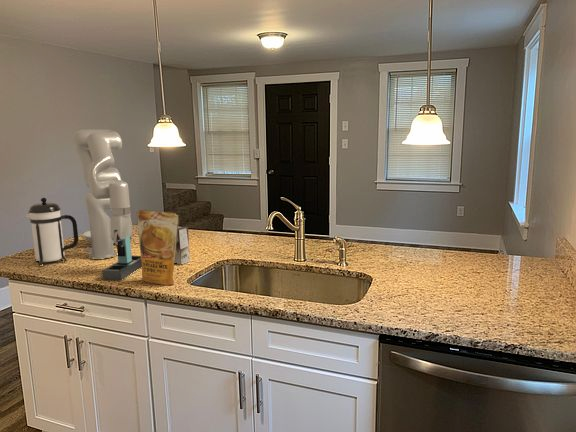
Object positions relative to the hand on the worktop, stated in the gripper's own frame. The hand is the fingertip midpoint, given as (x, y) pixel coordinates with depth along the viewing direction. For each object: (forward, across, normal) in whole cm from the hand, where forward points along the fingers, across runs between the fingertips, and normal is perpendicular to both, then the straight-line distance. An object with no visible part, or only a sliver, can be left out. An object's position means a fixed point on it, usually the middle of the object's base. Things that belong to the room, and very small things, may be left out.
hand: (124, 254), depth 188 cm
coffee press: (+7, -12, -42) cm, 45 cm away
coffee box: (+8, -16, +17) cm, 25 cm away
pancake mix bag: (+8, +10, +20) cm, 24 cm away
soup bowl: (+7, -46, -35) cm, 59 cm away
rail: (+8, 0, 0) cm, 8 cm away
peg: (+3, 0, 0) cm, 3 cm away
